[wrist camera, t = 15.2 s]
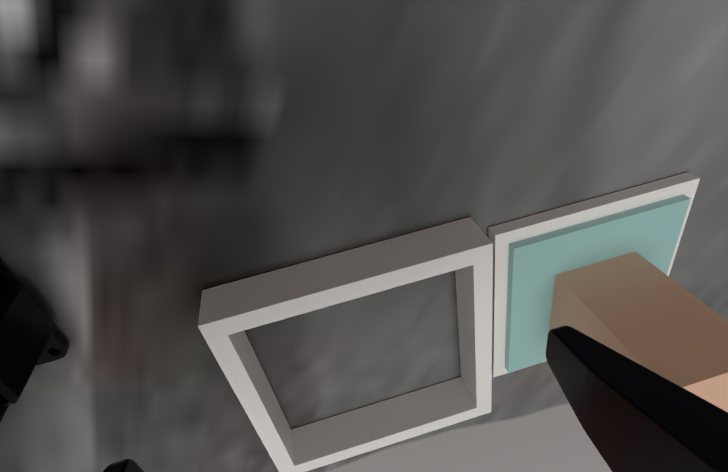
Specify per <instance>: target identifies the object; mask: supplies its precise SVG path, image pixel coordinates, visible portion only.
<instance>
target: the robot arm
mask: <svg viewBox="0 0 728 472" xmlns="http://www.w3.org/2000/svg"><path fill="white" fill-rule="evenodd" d="M54 348H57V349H54ZM68 349H69V344H68V342H67V341H66V340H65V339H64V337H63V336H62V335H61V334H60V333H59V331H58V330H57V329H56V328H55V327H54V325H53V324H52V322H51V321H50V320H49V319H48V318H47V316H46V315H45V314H44V313H43V312H42V310H41V309H40V308H39V307H38V306H37V304H36V303H35V302H34V301H33V300H32V298H31V297H30V296H29V295H28V294H27V292H26V291H25V290H24V289H23V288H22V287H21V286H20V285H19V284H18V282H17V281H16V280H15V279H14V278H13V276H12V275H11V274H10V273H9V272H8V270H7V269H6V268H5V267H4V266H3V265H2V263H1V262H0V422H1V420H2V418H3V416H4V414H5V412H6V410H7V408H8V406H9V405H10V404H14V403H16V402H17V401H18V399H19V397H20V395H21V394H22V392H23V390H24V388H25V386H26V384H27V382H28V380H29V378H30V376H31V374H32V372H33V370H34V368H35V366H36V365H40V364H43V363H47V362H50V361H54V360H57V359H61V358H63V357H64V356H65V355H66V354H67V351H68ZM546 359H547V362H548V364H549V366H550V368H551V370H552V372H553V374H554V376H555V377H556V379H557V381H558V383H559V385H560V387H561V389H562V390H563V392H564V394H565V396H566V398H567V400H568V401H569V403H570V405H571V407H572V409H573V411H574V413H575V414H576V416H577V418H578V420H579V422H580V423H581V425H582V427H583V429H584V430H585V432H586V433H587V435H588V436H589V438H590V439H591V441H592V442H593V444H594V445H595V447H596V448H597V450H598V451H599V453H600V454H601V456H602V457H603V459H604V460H605V461H606V463H607V464H608V466H609V467H610V469H611V470H612V472H728V412H726V411H724V410H723V409H721V408H719V407H717V406H715V405H713V404H712V403H710V402H708V401H706V400H704V399H702V398H701V397H699V396H697V395H695V394H693V393H692V392H690V391H688V390H686V389H684V388H682V387H681V386H679V385H677V384H675V383H673V382H671V381H670V380H668V379H666V378H664V377H662V376H660V375H659V374H657V373H655V372H653V371H651V370H649V369H648V368H646V367H644V366H642V365H640V364H638V363H637V362H635V361H633V360H631V359H629V358H627V357H626V356H624V355H622V354H620V353H618V352H616V351H615V350H613V349H611V348H609V347H607V346H606V345H604V344H602V343H600V342H598V341H596V340H595V339H593V338H591V337H589V336H587V335H585V334H584V333H582V332H580V331H578V330H576V329H574V328H573V327H570V326H566V325H565V326H561V327H557V328H554V329H551V330H550V331H549V332H548V338H547V346H546ZM103 472H144V471H143V470H142V469H141V468H140V467H139V466H138V465H137V463H136V462H135V461H134V460H132V459H125V460H122V461H119V462H115V463H112V464H110V465H109V466H108V467H107V468H106V469H105V470H104V471H103Z"/></svg>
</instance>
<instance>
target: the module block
mask: <svg viewBox="0 0 728 472" xmlns="http://www.w3.org/2000/svg"><path fill="white" fill-rule="evenodd" d="M565 325H566V326H570V327H573V328H574V329H576V330H578V331H580V332H582V333H584V334H585V335H587V336H589V337H591V338H593V339H595V340H596V341H598V342H600V343H602V344H604V345H606V346H607V347H609V348H611V349H613V350H615V351H616V352H618V353H620V354H622V355H624V356H626V357H627V358H629V359H631V360H633V361H635V362H637V363H638V364H640V365H642V366H644V367H646V368H648V369H649V370H651V371H653V372H655V373H657V374H659V375H660V376H662V377H664V378H666V379H668V380H670V381H671V382H673V383H675V384H677V385H679V386H681V387H682V388H684V389H686V390H688V391H690V392H692V393H693V394H695V395H697V396H699V397H701V398H702V399H704V400H706V401H708V402H710V403H712V404H713V405H715V406H717V407H719V408H721V409H723V410H724V411H726V412H728V322H727V321H726V320H725V319H724V318H722V317H721V316H720V315H718V314H717V313H716V312H714V311H713V310H712V309H710V308H709V307H708V306H707V305H705V304H704V303H703V302H701V301H700V300H699V299H697V298H696V297H695V296H693V295H692V294H691V293H690V292H688V291H687V290H686V289H684V288H683V287H682V286H680V285H679V284H678V283H676V282H675V281H674V280H673V279H671V278H670V277H669V276H667V275H666V274H665V273H663V272H662V271H661V270H659V269H658V268H657V267H656V266H654V265H653V264H652V263H650V262H649V261H648V260H646V259H645V258H644V257H642V256H641V255H640V254H639V253H637V252H636V251H634V252H631V253H628V254H624V255H621V256H617V257H614V258H611V259H607V260H604V261H600V262H597V263H593V264H590V265H587V266H583V267H580V268H576V269H573V270H570V271H566V272H563V273H559V274H556V276H555V285H554V293H553V301H552V309H551V317H550V326H549V331H550V330H551V329H554V328H557V327H561V326H565Z"/></svg>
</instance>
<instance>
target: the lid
mask: <svg viewBox="0 0 728 472" xmlns="http://www.w3.org/2000/svg"><path fill="white" fill-rule="evenodd" d="M699 180H700V178H699V177H697V176H695V175H693V174H691V173H689V172H686V173H682V174H679V175H675V176H672V177H668V178H664V179H661V180H657V181H654V182H650V183H646V184H643V185H639V186H636V187H632V188H628V189H625V190H621V191H618V192H614V193H610V194H607V195H603V196H600V197H596V198H592V199H589V200H585V201H582V202H578V203H574V204H571V205H567V206H564V207H560V208H556V209H553V210H549V211H546V212H542V213H538V214H535V215H531V216H528V217H524V218H520V219H517V220H513V221H510V222H506V223H502V224H499V225H495V226H492V227H488V238H489V239H490V240H491V241H492V243H493V282H492V376H493V378H494V377H497V376H500V375H503V374H506V373H509V372H513V371H516V370H519V369H522V368H525V367H529V366H532V365H535V364H538V363H541V362H545V361H547V359H546V346H547V338H548V332H549V326H550V317H551V309H552V301H553V293H554V285H555V276H556V274H559V273H563V272H566V271H570V270H573V269H576V268H580V267H583V266H587V265H590V264H593V263H597V262H600V261H604V260H607V259H611V258H614V257H617V256H621V255H624V254H628V253H631V252H634V251H636V252H637V253H639V254H640V255H641V256H642V257H644V258H645V259H646V260H648V261H649V262H650V263H652V264H653V265H654V266H656V267H657V268H658V269H659V270H661V271H662V272H663V273H665V274H666V275H667V276H669V274H670V270H671V267H672V264H673V261H674V258H675V255H676V252H677V249H678V246H679V242H680V239H681V236H682V233H683V230H684V227H685V224H686V221H687V218H688V214H689V211H690V208H691V205H692V202H693V199H694V196H695V193H696V189H697V186H698V183H699Z"/></svg>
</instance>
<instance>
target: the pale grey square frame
mask: <svg viewBox="0 0 728 472" xmlns="http://www.w3.org/2000/svg"><path fill="white" fill-rule="evenodd" d="M454 270H455V280H456V298H457V316H458V334H459V352H460V370H461V377H458V378H455V379H452V380H449V381H445V382H442V383H439V384H436V385H433V386H429V387H426V388H423V389H420V390H417V391H413V392H410V393H407V394H404V395H400V396H397V397H394V398H391V399H388V400H384V401H381V402H378V403H375V404H371V405H368V406H365V407H362V408H359V409H355V410H352V411H349V412H346V413H342V414H339V415H336V416H333V417H330V418H326V419H323V420H320V421H317V422H313V423H310V424H307V425H304V426H301V427H297V428H294V429H291V428H290V426H289V424H288V422H287V420H286V418H285V416H284V414H283V412H282V409H281V407H280V405H279V403H278V401H277V399H276V397H275V395H274V393H273V390H272V388H271V386H270V384H269V382H268V380H267V378H266V376H265V374H264V371H263V369H262V367H261V365H260V363H259V361H258V359H257V357H256V355H255V352H254V350H253V348H252V346H251V344H250V342H249V340H248V338H247V336H246V333H245V331H244V330H247V329H251V328H254V327H258V326H261V325H265V324H268V323H272V322H275V321H279V320H282V319H286V318H289V317H293V316H296V315H300V314H303V313H307V312H310V311H314V310H317V309H321V308H324V307H328V306H331V305H335V304H338V303H342V302H345V301H349V300H352V299H356V298H359V297H363V296H366V295H370V294H373V293H377V292H380V291H384V290H387V289H391V288H394V287H398V286H401V285H405V284H408V283H412V282H415V281H419V280H422V279H426V278H429V277H433V276H436V275H440V274H443V273H447V272H450V271H454ZM492 282H493V243H492V241H491V240H490V239H489V238H488V237H487V236H486V234H485V233H484V232H483V231H482V230H481V229H480V227H479V226H478V225H477V224H476V223H475V222H474V220H473V219H472V218H471V217H468V218H464V219H460V220H457V221H453V222H449V223H446V224H442V225H438V226H435V227H431V228H427V229H424V230H420V231H417V232H413V233H409V234H406V235H402V236H398V237H395V238H391V239H387V240H384V241H380V242H376V243H373V244H369V245H365V246H362V247H358V248H355V249H351V250H347V251H344V252H340V253H336V254H333V255H329V256H325V257H322V258H318V259H314V260H311V261H307V262H303V263H300V264H296V265H293V266H289V267H285V268H282V269H278V270H274V271H271V272H267V273H263V274H260V275H256V276H252V277H249V278H245V279H241V280H238V281H234V282H231V283H227V284H223V285H220V286H216V287H212V288H209V289H205V290H202V296H201V304H200V312H199V320H198V328H199V330H200V331H201V333H202V335H203V337H204V339H205V340H206V342H207V344H208V346H209V347H210V349H211V351H212V353H213V355H214V356H215V358H216V360H217V362H218V364H219V365H220V367H221V369H222V371H223V372H224V374H225V376H226V378H227V380H228V381H229V383H230V385H231V387H232V389H233V390H234V392H235V394H236V396H237V397H238V399H239V401H240V403H241V405H242V406H243V408H244V410H245V412H246V414H247V415H248V417H249V419H250V421H251V422H252V424H253V426H254V428H255V430H256V431H257V433H258V435H259V437H260V439H261V440H262V442H263V444H264V446H265V447H266V449H267V451H268V453H269V455H270V456H271V458H272V460H273V462H274V464H275V465H276V467H277V469H278V471H279V472H306V471H309V470H312V469H315V468H318V467H322V466H325V465H328V464H331V463H334V462H337V461H340V460H343V459H346V458H350V457H353V456H356V455H359V454H362V453H365V452H368V451H371V450H374V449H378V448H381V447H384V446H387V445H390V444H393V443H396V442H399V441H403V440H406V439H409V438H412V437H415V436H418V435H421V434H424V433H427V432H431V431H434V430H437V429H440V428H443V427H446V426H449V425H452V424H455V423H459V422H462V421H465V420H468V419H471V418H474V417H477V416H480V415H484V414H487V413H490V412H491V380H492Z"/></svg>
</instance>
